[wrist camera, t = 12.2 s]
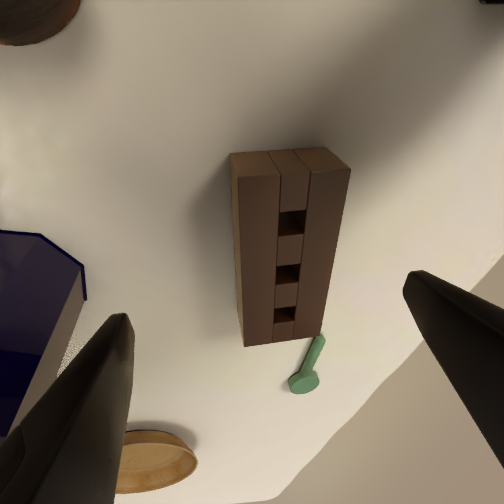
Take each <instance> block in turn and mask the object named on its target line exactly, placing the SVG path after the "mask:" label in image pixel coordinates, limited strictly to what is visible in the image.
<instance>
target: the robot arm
mask: <svg viewBox="0 0 504 504" xmlns="http://www.w3.org/2000/svg"><path fill="white" fill-rule="evenodd" d="M479 1H480V3H481V4H504V0H479ZM403 297H404V299H405V301H406V303H407V305H408V307H409V309H410V311H411V313H412V316H413V318H414V320H415V322H416V324H417V326H418V328H419V330H420V332H421V334H422V336H423V338H424V339H425V341H426V343H427V345H428V346H429V348H430V349H431V351H432V353H433V354H434V356H435V357H436V359H437V361H438V362H439V364H440V366H441V367H442V369H443V371H444V372H445V374H446V376H447V377H448V379H449V380H450V382H451V384H452V385H453V387H454V389H455V390H456V392H457V393H458V395H459V397H460V398H461V400H462V401H463V403H464V405H465V406H466V408H467V410H468V411H469V413H470V415H471V416H472V418H473V420H474V421H475V423H476V424H477V426H478V427H479V429H480V431H481V433H482V434H483V436H484V437H485V439H486V441H487V442H488V444H489V446H490V447H491V449H492V450H493V452H494V454H495V455H496V457H497V459H498V460H499V462H500V463H501V465H502V467H503V468H504V309H502V308H500V307H498V306H496V305H494V304H492V303H490V302H488V301H486V300H484V299H482V298H480V297H478V296H476V295H473V294H471V293H469V292H467V291H465V290H463V289H461V288H459V287H457V286H455V285H453V284H451V283H449V282H447V281H445V280H442V279H440V278H438V277H436V276H434V275H432V274H430V273H428V272H426V271H423V270H418V271H411V272H410V273H409V274H408V276H407V279H406V281H405V284H404V287H403ZM134 343H135V334H134V330H133V327H132V325H131V322H130V320H129V317H128V315H127V314H126V313H118V314H112V315H111V316H110V317H109V318H108V319H107V320H106V321H105V322H104V324H103V325H102V326H101V327H100V328H99V329H98V331H97V332H96V333H95V334H94V335H93V337H92V338H91V339H90V340H89V341H88V342H87V344H86V345H85V346H84V347H83V348H82V350H81V351H80V352H79V353H78V354H77V355H76V357H75V358H74V359H73V360H72V361H71V363H70V364H69V365H68V366H67V367H66V368H65V370H64V371H63V372H62V373H61V374H60V375H59V377H58V378H57V379H56V380H55V381H54V383H53V384H52V385H51V386H50V387H49V388H48V390H47V391H46V392H45V393H44V394H43V396H42V397H41V398H40V399H39V400H38V401H37V403H36V404H35V405H34V406H33V407H32V409H31V410H30V411H29V412H28V413H27V414H26V416H25V417H24V418H23V419H22V420H21V422H20V425H18V426H16V427H15V428H14V430H13V431H12V432H11V433H10V434H9V436H8V437H7V438H6V439H5V440H4V441H3V443H2V444H1V445H0V504H114V498H115V492H116V486H117V480H118V473H119V467H120V461H121V455H122V449H123V443H124V436H125V430H126V424H127V418H128V412H129V406H130V400H131V393H132V386H133V366H134Z"/></svg>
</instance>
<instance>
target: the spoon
mask: <svg viewBox="0 0 504 504" xmlns="http://www.w3.org/2000/svg"><path fill="white" fill-rule="evenodd" d="M324 344H325V338H324V337H323V336H322V335H320V336H317V337H315V339H314V342H313V344H312V346H311V348H310V350H309V353H308V355H307V357H306V359H305V361H304V364H303V366H302V368H301V370H300V372H299V373H297V374H295V375H294V376H292V377H291V378H290V380H289V387H290V390H291V392H292V393H294V394H304V393H308V392H310V391H312V390H314V389H315V388H316V387H317V386H318V385H319V378H318V376H317V374H316V373H315V372H314V371H312V369H313V366H314V364H315V362H316V360H317V358H318V356H319V354H320V352H321V350H322V348H323V346H324Z"/></svg>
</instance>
